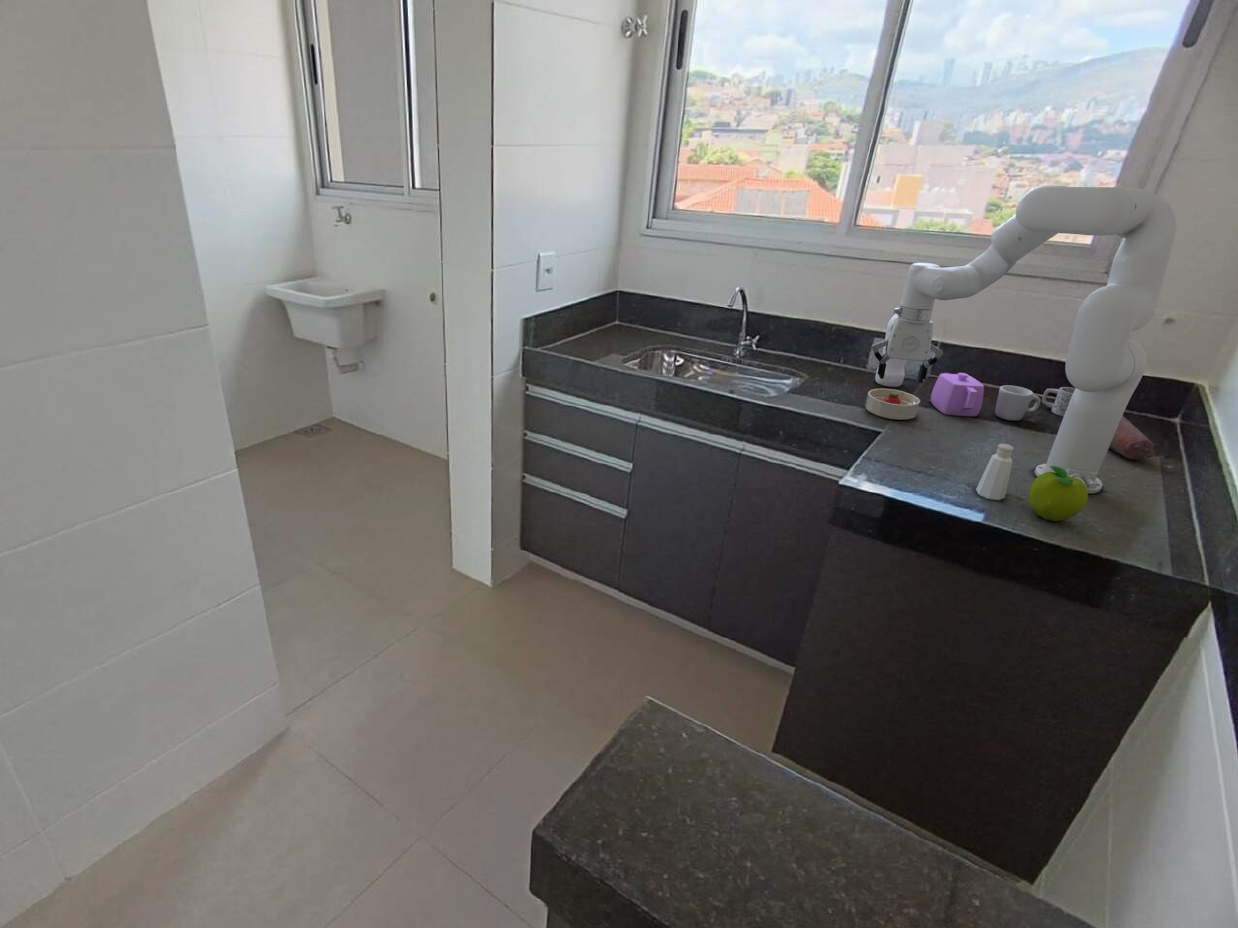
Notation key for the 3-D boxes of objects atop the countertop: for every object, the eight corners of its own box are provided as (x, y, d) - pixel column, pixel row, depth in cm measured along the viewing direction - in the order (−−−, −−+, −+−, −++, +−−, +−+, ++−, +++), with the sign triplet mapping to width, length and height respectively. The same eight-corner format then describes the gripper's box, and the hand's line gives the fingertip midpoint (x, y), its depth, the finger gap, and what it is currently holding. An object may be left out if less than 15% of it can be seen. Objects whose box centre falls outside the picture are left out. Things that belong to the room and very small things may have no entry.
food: (1067, 429, 173) (1079, 397, 169) (1102, 430, 174) (1115, 399, 170) (1124, 463, 154) (1139, 428, 150) (1163, 465, 154) (1179, 430, 151)
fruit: (1024, 522, 126) (1042, 475, 122) (1020, 501, 134) (1037, 457, 129) (1080, 535, 123) (1100, 487, 118) (1072, 513, 130) (1091, 468, 126)
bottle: (883, 377, 206) (906, 279, 193) (907, 384, 200) (932, 285, 187) (868, 381, 201) (891, 282, 188) (893, 389, 196) (918, 287, 182)
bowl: (919, 424, 170) (924, 408, 169) (867, 417, 173) (871, 401, 171) (911, 407, 182) (915, 392, 180) (862, 401, 184) (866, 386, 182)
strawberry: (898, 413, 175) (903, 396, 173) (883, 411, 176) (887, 394, 174) (896, 408, 179) (901, 391, 177) (881, 406, 179) (885, 389, 177)
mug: (1081, 414, 184) (1090, 392, 181) (1074, 419, 180) (1083, 396, 177) (1043, 404, 191) (1050, 382, 188) (1035, 408, 187) (1043, 386, 184)
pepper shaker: (977, 485, 139) (993, 438, 135) (1006, 493, 137) (1023, 445, 132) (973, 494, 135) (989, 446, 131) (1002, 503, 133) (1020, 454, 128)
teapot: (921, 396, 191) (930, 362, 187) (957, 398, 191) (967, 364, 187) (946, 419, 175) (957, 382, 170) (986, 421, 175) (998, 385, 170)
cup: (1026, 414, 182) (1036, 387, 178) (1040, 425, 175) (1050, 397, 171) (986, 411, 182) (995, 383, 179) (998, 421, 175) (1007, 393, 172)
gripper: (881, 314, 164) (867, 380, 171) (955, 320, 161) (938, 387, 168) (877, 308, 171) (864, 372, 178) (948, 314, 167) (932, 378, 175)
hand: (900, 379), depth 173 cm, fingers open, 9 cm apart
